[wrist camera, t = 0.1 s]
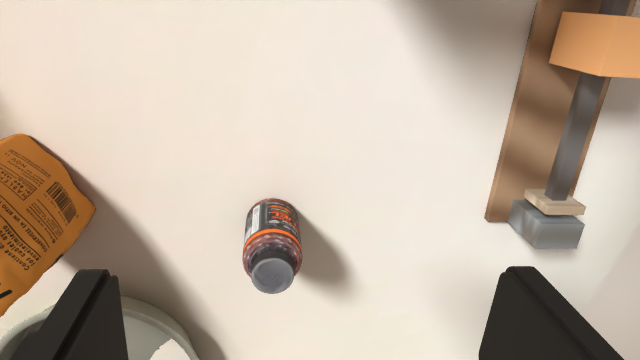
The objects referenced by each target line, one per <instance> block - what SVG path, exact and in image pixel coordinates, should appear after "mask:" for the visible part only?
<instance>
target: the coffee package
mask: <svg viewBox="0 0 640 360" xmlns="http://www.w3.org/2000/svg"><path fill="white" fill-rule="evenodd" d="M95 210H96V209H95V206H94V205H93V203H91V202H90V201H89V200H88V199H87V198H86V197H85V196H84V195H83V194H82V193H81V192H79V191H78V189H77V188H76V187H75V186H74V184H73V182H72V180H71V178H70V176H69V174H68V172H67V171H66V169H65V167H64V166H63V165H62V164H61V162H59V161H58V160H57V159H56V158H54V157H53V156H51V155H50V154H48V153H47V152H45V151H44V150H43V149H42V148H41V147H40V146H39V145H38V144H37V143H36V142H35V141H33V140H32V139H31V138H30V137H29V136H27V135H25V134H15V135H12V136H9V137H7V138H4V139H2V140H0V317H1V316H3V315H4V313H5V312H6V311H7V309H8V308H9V307H10V306H11V305H12V304H13V303H14V302H15V301H16V300H17V299H18V298H20V297H21V296H22V295H24V294H26V293H27V292H28V291H29V290H30V289H31V288H32V286H33V285H34V284H35V283H36V282H37V281H38V280H39V279H40V277H41V276H42V275H43V273H44V272H45V271H47V270H48V269H49V268H51V267H52V266H53V265H54V264H55V263H56V262H57V261H58V260H59V259H60V258H61V257H62V256H63V255H64V254H65V253H66V251H67V250H68V249H69V248H70V247H71V246H72V245H73V244H74V243H75V241H76V240H77V238H78V237H79V235H80V233H81V232H82V230H83V229H84V228H85V227H86V226H87V224H88V222H89V221H90V219H91V218H92V216H93V214H94V212H95Z"/></svg>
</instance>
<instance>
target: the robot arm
mask: <svg viewBox="0 0 640 360" xmlns="http://www.w3.org/2000/svg"><path fill="white" fill-rule="evenodd" d="M9 360H129V358H128V351H127V343H126V336H125V328H124V321H123V313H122V306H121V298H120V291H119V283H118V278H117V277H116V276H110V274H109V272H108V270H106V269H103V270H79V271H78V272H77V273H76V275H75V276H74V278H73V279H72V281H71V282H70V284H69V285H68V287H67V288H66V290H65V291H64V293H63V294H62V296H61V297H60V299H59V300H58V302H57V303H56V305H55V306H54V308H53V309H52V311H51V312H50V314H49V315H48V317H47V318H46V320H45V321H44V323H43V324H42V326H41V327H40V329H39V330H38V331H32V332H30V333H28V334H27V335H26V337H25V338H24V339H23V340H22V342H21V343H20V345H19V346H18V347H17V349H16V350H15V352H14V353H13V355H12V356H11V358H10V359H9ZM479 360H624V359H623V358H622V357H621V356H620V355H619V354H618V353H617V352H616V351H615V350H614V349H613V348H612V347H611V346H610V345H609V344H608V343H607V341H605V339H604V338H603V337H602V336H601V335H600V334H599V333H598V332H597V331H596V330H595V329H594V328H593V327H592V326H591V325H590V324H589V323H588V322H587V321H586V320H585V319H584V318H583V317H582V316H581V315H580V314H579V313H578V312H577V311H576V309H575V308H574V307H573V306H572V305H571V304H570V303H569V302H568V301H567V300H566V299H565V298H564V297H563V296H562V295H561V294H560V293H559V292H558V291H557V290H556V289H555V288H554V287H553V286H552V285H551V284H550V283H549V282H548V281H547V280H546V278H545V277H544V276H543V275H542V274H541V273H540V272H539V271H538V270H537V269H536V268H534V267H531V266H511V267H508V268H507V270H506V272H503V273H502V274H501V275H500V277H499V281H498V284H497V288H496V292H495V295H494V299H493V302H492V306H491V310H490V313H489V317H488V321H487V324H486V328H485V332H484V335H483V339H482V343H481V346H480V350H479Z"/></svg>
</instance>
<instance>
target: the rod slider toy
mask: <svg viewBox="0 0 640 360" xmlns="http://www.w3.org/2000/svg"><path fill="white" fill-rule="evenodd" d="M635 3H636V0H538V1H537V5H536V9H535V13H534V17H533V21H532V25H531V30H530V34H529V38H528V42H527V46H526V50H525V54H524V58H523V62H522V66H521V70H520V74H519V78H518V82H517V87H516V91H515V95H514V99H513V103H512V107H511V111H510V115H509V119H508V123H507V127H506V131H505V135H504V140H503V144H502V148H501V152H500V156H499V160H498V164H497V168H496V172H495V176H494V180H493V184H492V188H491V192H490V197H489V201H488V205H487V209H486V213H485V217H484V218H485V219H486V220H487V221H488V222H508V223H509V224H510V225H511V226H512V227H513V228H514V229H515V230H516V231H517V232H518V233H519V234H520V235H522V236H523V237H524V238H525V239H526V240H527V241H528V242H529V243H530V244H531V245H532V246H533V247H534V248H577V246H578V243H579V240H580V237H581V234H582V231H583V229H584V226H585V224H583V223H582V222H581V221H579V220H578V219H577V218H575V217H574V216H573V215H584V212H585V209H586V206H584V205H583V204H581V203H580V202H578V201H577V200H575V199H574V198H573V197H572V196H573V193H574V190H575V187H576V184H577V180H578V177H579V174H580V171H581V168H582V165H583V162H584V159H585V156H586V153H587V150H588V147H589V144H590V141H591V138H592V135H593V131H594V128H595V125H596V122H597V119H598V116H599V113H600V110H601V107H602V104H603V101H604V98H605V95H606V92H607V89H608V86H609V83H610V79H611V77H606V76H597V75H593V74H589V73H586V72H582V71H578V70H574V69H570V68H566V67H562V66H559V65H555V64H551V63H549V60H550V56H551V53H552V49H553V45H554V41H555V38H556V34H557V30H558V26H559V23H560V19H561V15H562V12H575V13H589V14H602V15H616V16H629V17H631V15H632V12H633V9H634V6H635Z"/></svg>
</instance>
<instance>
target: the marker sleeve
mask: <svg viewBox="0 0 640 360" xmlns="http://www.w3.org/2000/svg"><path fill="white" fill-rule="evenodd" d="M549 63H551V64H555V65H559V66H562V67H566V68H570V69H574V70H578V71H582V72H586V73H589V74H593V75H597V76H606V77H624V78H640V17H629V16H616V15H602V14H589V13H575V12H562V15H561V19H560V23H559V26H558V30H557V34H556V38H555V41H554V45H553V49H552V53H551V56H550V60H549Z"/></svg>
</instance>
